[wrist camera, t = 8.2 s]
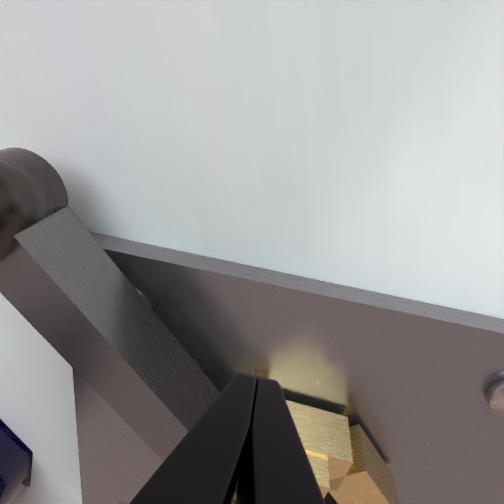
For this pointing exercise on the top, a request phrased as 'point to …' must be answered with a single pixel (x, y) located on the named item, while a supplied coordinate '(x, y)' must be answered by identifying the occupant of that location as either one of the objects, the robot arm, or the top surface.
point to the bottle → (13, 466)
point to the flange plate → (318, 371)
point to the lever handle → (138, 335)
